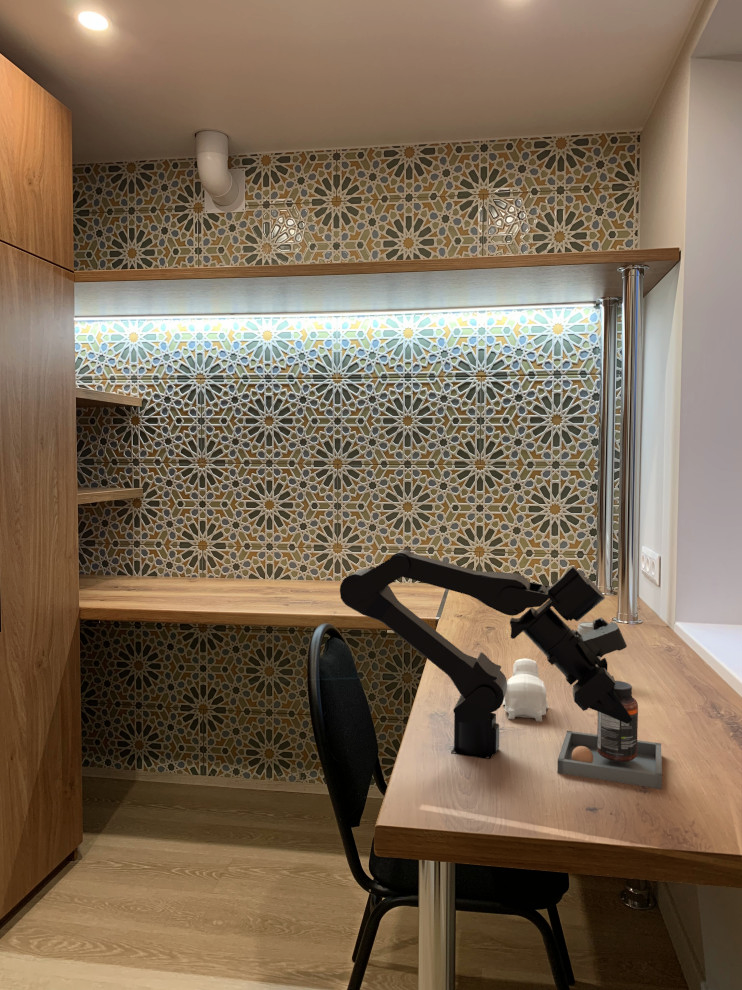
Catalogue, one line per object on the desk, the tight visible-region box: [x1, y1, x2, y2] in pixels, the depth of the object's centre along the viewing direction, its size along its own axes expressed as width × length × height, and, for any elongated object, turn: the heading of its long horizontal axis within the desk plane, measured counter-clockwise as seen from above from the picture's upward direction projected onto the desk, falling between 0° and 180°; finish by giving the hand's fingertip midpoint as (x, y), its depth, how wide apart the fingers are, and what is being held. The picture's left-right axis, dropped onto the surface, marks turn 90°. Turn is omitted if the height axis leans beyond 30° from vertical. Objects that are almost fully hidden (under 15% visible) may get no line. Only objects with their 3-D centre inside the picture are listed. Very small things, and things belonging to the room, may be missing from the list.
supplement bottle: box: [596, 680, 639, 762], centre depth 113 cm, size 6×6×11 cm
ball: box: [572, 746, 593, 763], centre depth 111 cm, size 3×3×3 cm
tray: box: [557, 730, 663, 790], centre depth 113 cm, size 15×13×2 cm
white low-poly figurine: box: [502, 658, 549, 722], centre depth 138 cm, size 9×8×15 cm
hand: (627, 714), depth 113 cm, fingers closed on supplement bottle, 6 cm apart
